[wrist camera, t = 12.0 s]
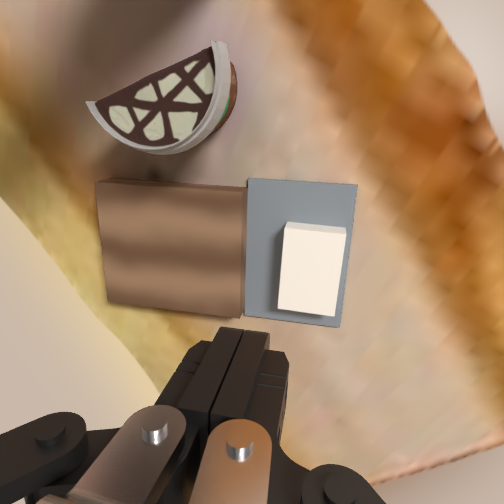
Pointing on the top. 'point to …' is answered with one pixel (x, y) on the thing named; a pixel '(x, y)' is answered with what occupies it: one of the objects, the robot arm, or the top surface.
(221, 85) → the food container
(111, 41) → the top surface
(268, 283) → the mat
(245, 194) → the brown wooden board
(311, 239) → the tile
